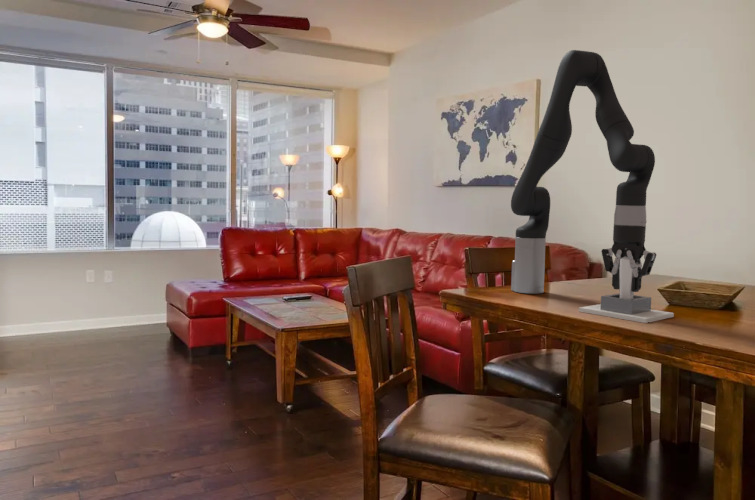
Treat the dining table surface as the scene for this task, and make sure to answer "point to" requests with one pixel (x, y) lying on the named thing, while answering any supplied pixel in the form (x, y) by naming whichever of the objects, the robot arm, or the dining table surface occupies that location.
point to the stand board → (639, 317)
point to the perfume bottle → (625, 279)
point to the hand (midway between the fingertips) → (626, 290)
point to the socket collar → (626, 304)
